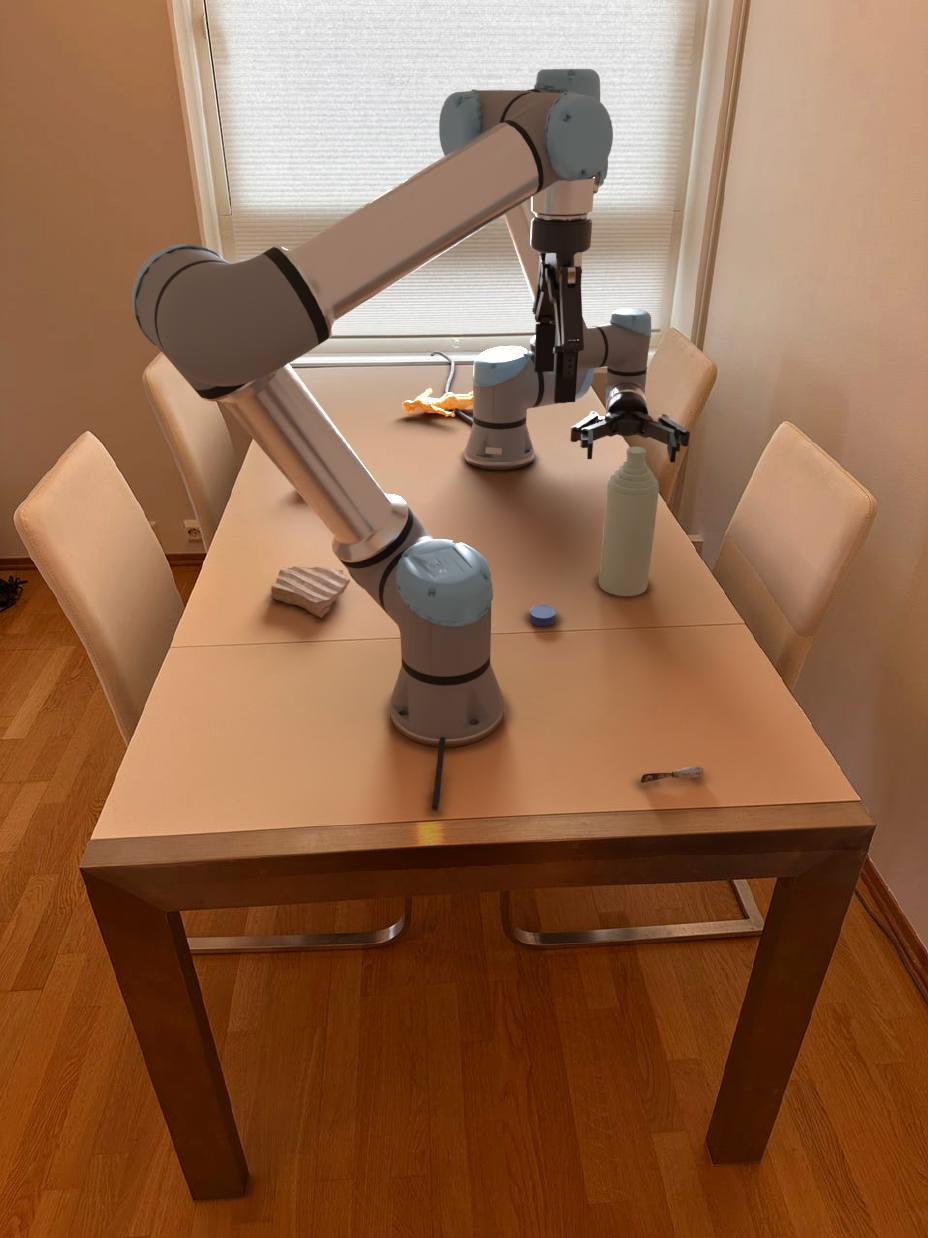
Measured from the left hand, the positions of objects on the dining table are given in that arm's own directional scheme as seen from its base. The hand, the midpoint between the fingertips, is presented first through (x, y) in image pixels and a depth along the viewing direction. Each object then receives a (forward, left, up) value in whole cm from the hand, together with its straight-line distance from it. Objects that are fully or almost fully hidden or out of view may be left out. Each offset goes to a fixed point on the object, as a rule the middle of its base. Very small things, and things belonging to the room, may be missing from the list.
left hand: (553, 385), depth 121 cm
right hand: (+23, -11, -18) cm, 31 cm away
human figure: (+94, +36, -38) cm, 108 cm away
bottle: (+14, -12, -38) cm, 42 cm away
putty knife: (-34, -21, -38) cm, 55 cm away
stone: (-1, +38, -38) cm, 54 cm away
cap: (0, 0, -36) cm, 36 cm away
